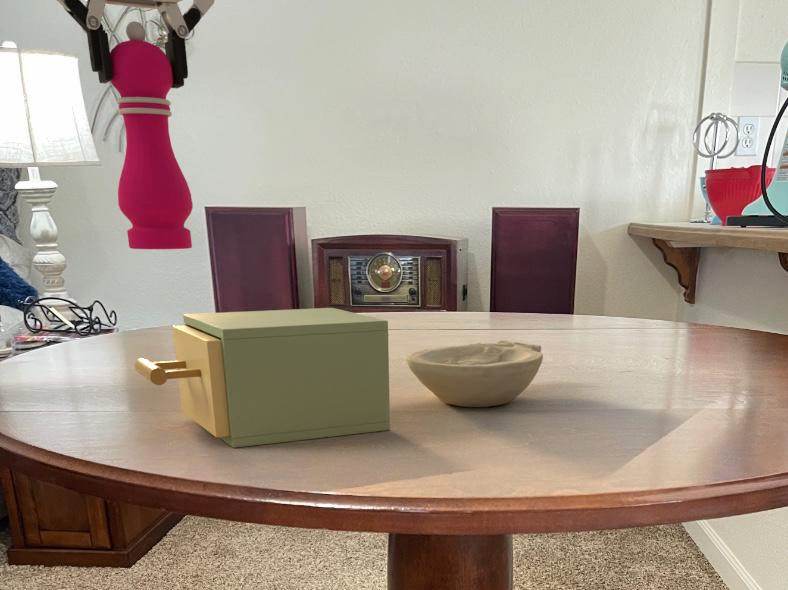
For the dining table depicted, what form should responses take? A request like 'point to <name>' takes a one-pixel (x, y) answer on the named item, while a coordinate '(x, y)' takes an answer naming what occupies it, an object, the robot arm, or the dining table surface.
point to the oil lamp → (477, 372)
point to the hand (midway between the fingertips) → (141, 82)
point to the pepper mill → (149, 147)
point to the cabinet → (301, 373)
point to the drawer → (195, 377)
